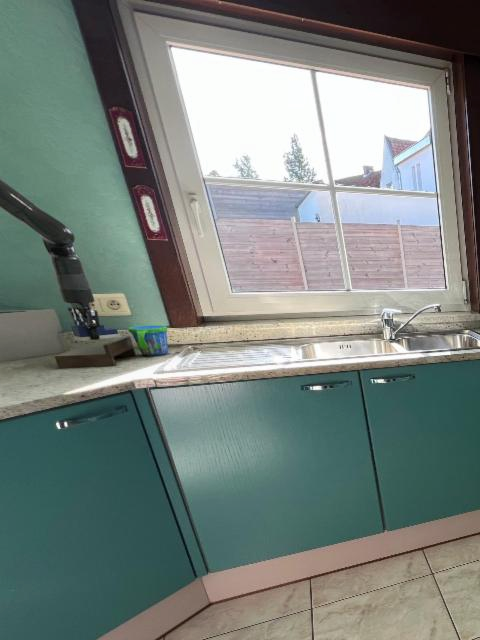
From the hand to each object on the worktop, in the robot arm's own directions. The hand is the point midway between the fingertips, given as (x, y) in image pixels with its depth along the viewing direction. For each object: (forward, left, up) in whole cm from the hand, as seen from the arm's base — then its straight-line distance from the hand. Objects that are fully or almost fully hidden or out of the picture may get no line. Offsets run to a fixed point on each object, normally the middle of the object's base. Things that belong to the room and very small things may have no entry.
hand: (91, 338), depth 171 cm
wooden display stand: (+2, -4, -7) cm, 9 cm away
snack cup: (+14, +6, -8) cm, 17 cm away
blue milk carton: (+1, +1, 0) cm, 2 cm away
